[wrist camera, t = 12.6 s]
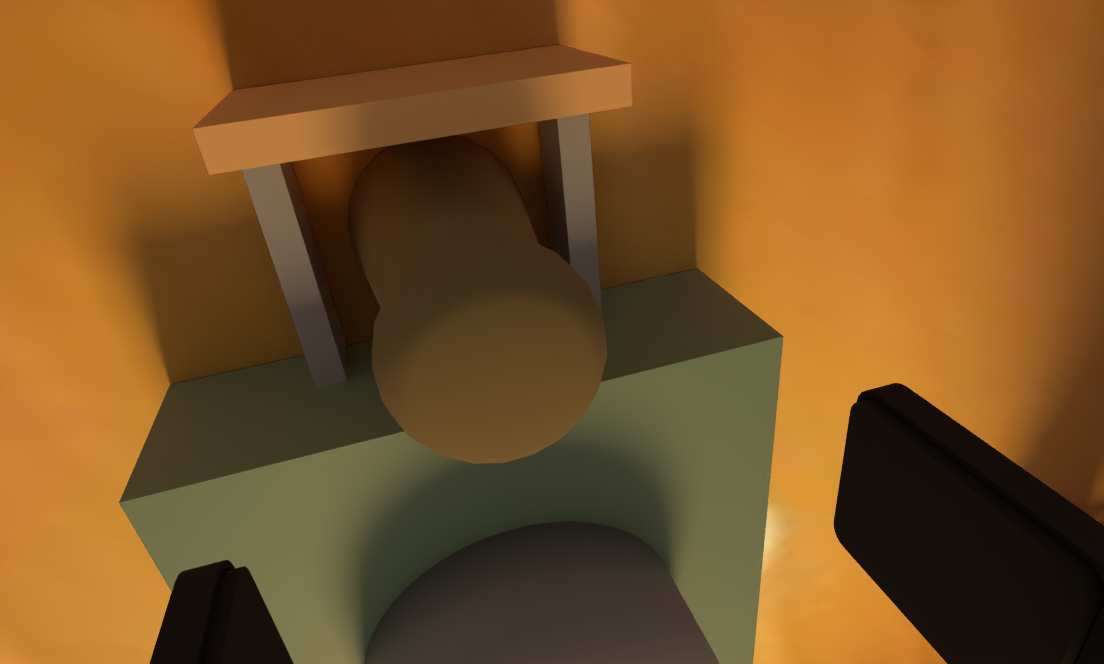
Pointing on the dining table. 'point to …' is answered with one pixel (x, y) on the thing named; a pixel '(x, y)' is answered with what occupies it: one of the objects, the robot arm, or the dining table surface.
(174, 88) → the dining table surface
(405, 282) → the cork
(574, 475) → the green box with dome
